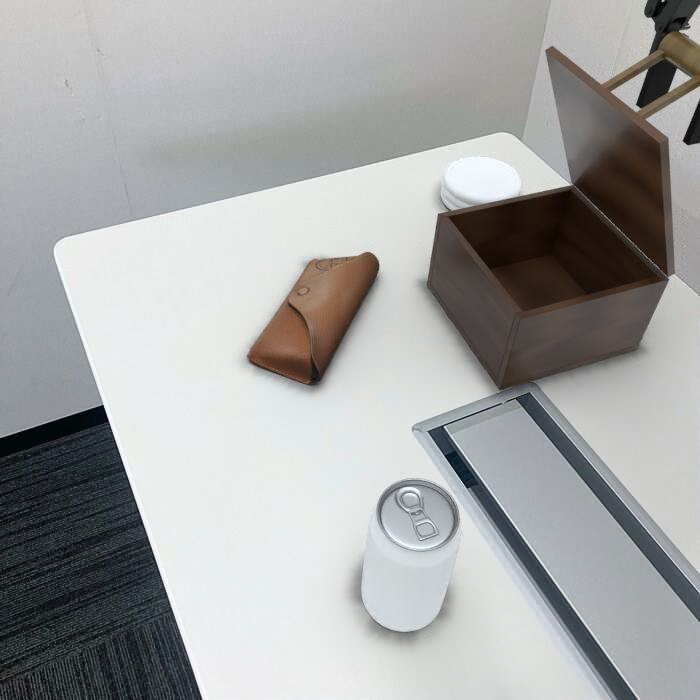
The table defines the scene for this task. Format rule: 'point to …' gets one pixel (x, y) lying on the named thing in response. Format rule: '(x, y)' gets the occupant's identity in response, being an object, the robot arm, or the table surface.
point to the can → (410, 554)
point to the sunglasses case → (315, 317)
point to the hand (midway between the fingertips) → (672, 121)
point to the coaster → (478, 182)
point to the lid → (623, 145)
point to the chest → (541, 284)
